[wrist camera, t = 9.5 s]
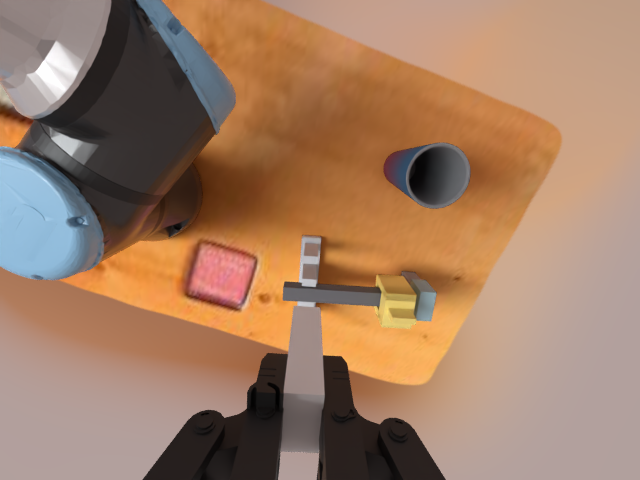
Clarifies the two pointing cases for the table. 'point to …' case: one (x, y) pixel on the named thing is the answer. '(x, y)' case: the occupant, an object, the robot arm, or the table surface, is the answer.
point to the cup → (429, 173)
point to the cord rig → (314, 293)
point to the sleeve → (395, 302)
